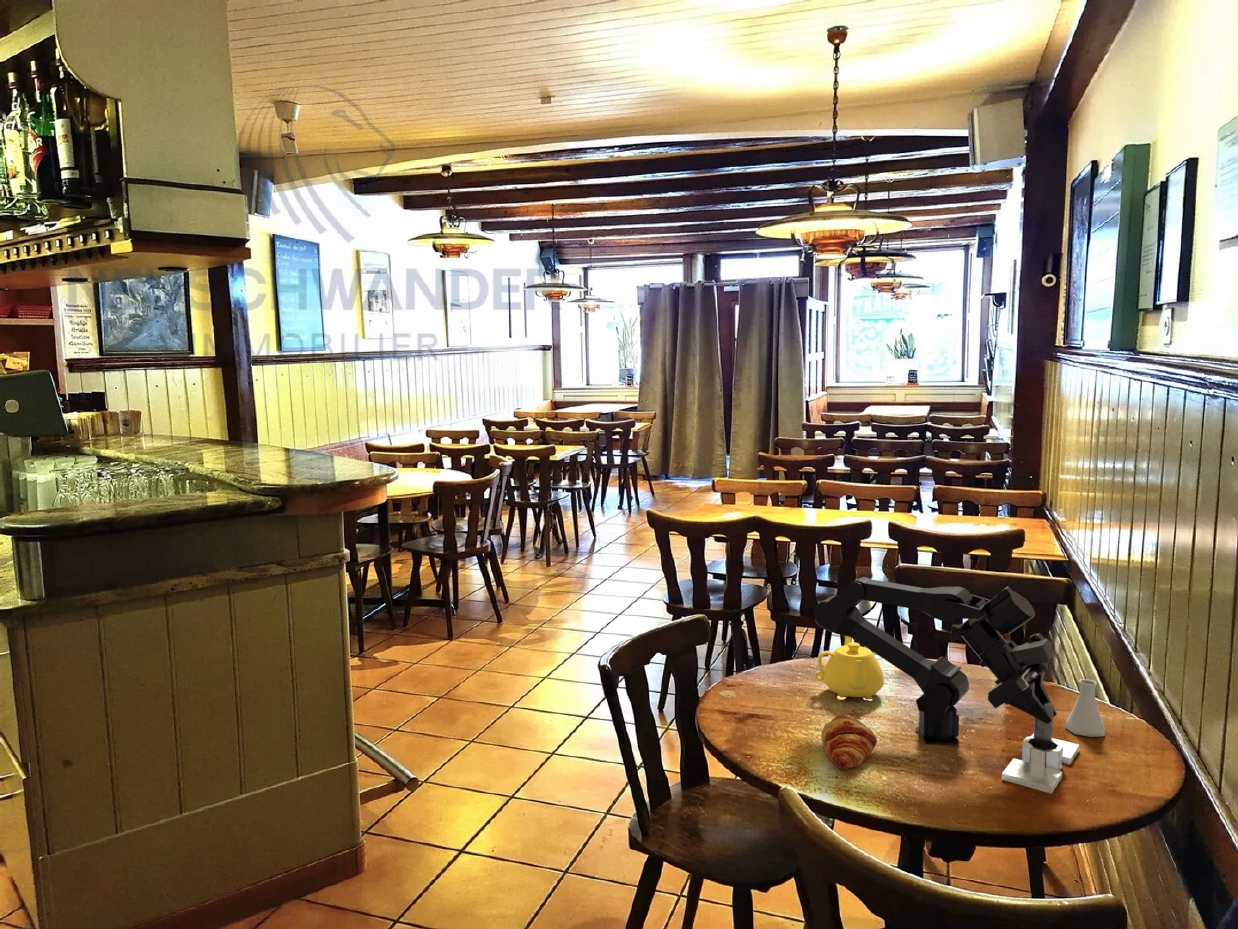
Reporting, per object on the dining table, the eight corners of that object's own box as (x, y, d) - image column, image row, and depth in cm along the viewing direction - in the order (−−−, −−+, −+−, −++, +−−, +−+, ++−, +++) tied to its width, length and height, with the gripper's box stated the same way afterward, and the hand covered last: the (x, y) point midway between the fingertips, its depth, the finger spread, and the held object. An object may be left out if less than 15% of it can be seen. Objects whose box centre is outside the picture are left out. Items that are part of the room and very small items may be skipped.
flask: (1111, 739, 166) (1114, 690, 164) (1070, 737, 167) (1073, 687, 166) (1098, 724, 173) (1101, 676, 171) (1059, 721, 174) (1062, 674, 173)
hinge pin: (1037, 755, 154) (1039, 707, 153) (1029, 748, 157) (1032, 701, 156) (1054, 755, 154) (1056, 707, 153) (1046, 748, 157) (1049, 701, 156)
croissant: (835, 743, 174) (817, 707, 174) (881, 725, 171) (863, 689, 171) (828, 791, 154) (808, 751, 154) (881, 772, 151) (859, 731, 151)
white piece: (1002, 779, 151) (1002, 758, 150) (1033, 739, 166) (1034, 719, 166) (1051, 793, 146) (1052, 771, 145) (1079, 750, 161) (1080, 730, 161)
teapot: (810, 676, 201) (811, 628, 199) (875, 678, 199) (876, 630, 197) (818, 710, 181) (819, 658, 180) (891, 713, 179) (892, 660, 178)
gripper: (1010, 636, 148) (1077, 714, 143) (1038, 611, 162) (1100, 680, 157) (961, 670, 154) (1024, 746, 149) (993, 642, 168) (1051, 710, 163)
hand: (1052, 719), depth 154 cm, fingers closed on hinge pin, 3 cm apart
